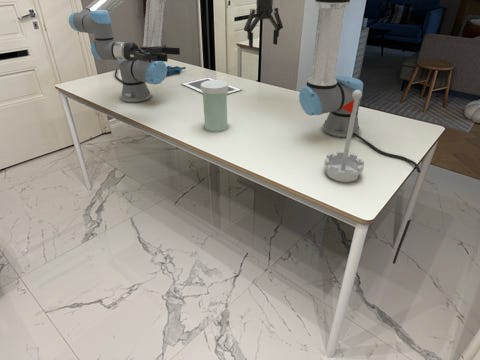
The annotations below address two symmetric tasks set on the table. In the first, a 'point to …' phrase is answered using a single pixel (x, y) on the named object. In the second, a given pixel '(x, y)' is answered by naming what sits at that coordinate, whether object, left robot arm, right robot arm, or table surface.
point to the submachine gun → (174, 69)
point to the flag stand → (346, 151)
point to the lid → (214, 87)
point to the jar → (215, 111)
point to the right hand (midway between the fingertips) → (263, 45)
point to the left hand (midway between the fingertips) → (173, 54)
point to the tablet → (197, 84)
